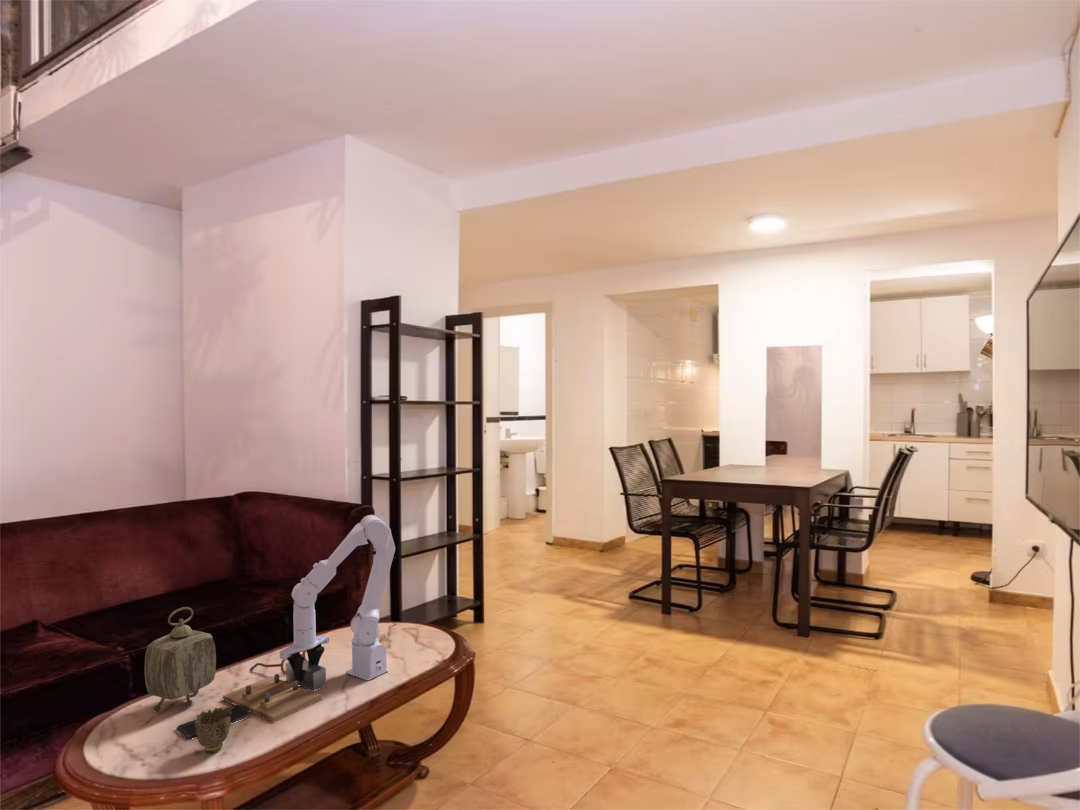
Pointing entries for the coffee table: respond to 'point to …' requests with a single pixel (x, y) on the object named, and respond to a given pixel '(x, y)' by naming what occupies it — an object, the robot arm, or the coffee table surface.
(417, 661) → the coffee table surface
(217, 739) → the cup
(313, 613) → the robot arm
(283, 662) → the glasses
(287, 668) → the metal bar
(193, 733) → the phone
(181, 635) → the tabletop clock
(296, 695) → the peg rack
